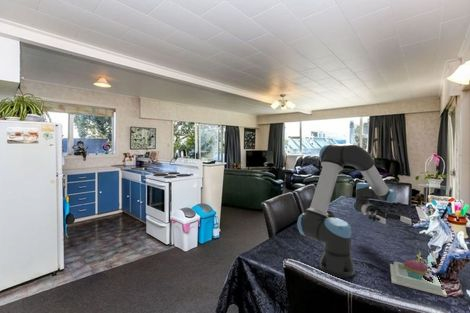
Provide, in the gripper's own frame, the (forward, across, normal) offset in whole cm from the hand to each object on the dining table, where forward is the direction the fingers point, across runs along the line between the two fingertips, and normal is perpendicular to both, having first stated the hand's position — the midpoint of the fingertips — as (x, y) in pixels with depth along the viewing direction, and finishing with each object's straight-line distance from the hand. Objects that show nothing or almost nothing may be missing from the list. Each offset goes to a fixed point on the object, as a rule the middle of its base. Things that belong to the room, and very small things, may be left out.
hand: (397, 221), depth 119 cm
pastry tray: (+15, +3, -21) cm, 26 cm away
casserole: (-63, +11, -20) cm, 67 cm away
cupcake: (+15, +3, -20) cm, 26 cm away
